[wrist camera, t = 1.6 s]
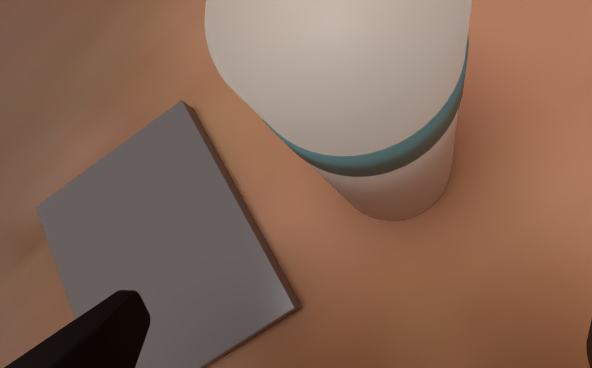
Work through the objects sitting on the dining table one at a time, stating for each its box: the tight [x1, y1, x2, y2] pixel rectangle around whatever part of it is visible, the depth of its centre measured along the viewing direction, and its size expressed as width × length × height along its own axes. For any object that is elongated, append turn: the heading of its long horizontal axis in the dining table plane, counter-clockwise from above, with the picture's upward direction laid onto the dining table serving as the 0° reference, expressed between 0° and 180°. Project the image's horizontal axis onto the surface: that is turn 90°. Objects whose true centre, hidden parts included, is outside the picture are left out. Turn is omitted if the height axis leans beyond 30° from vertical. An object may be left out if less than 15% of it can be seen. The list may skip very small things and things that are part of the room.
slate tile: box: [36, 100, 302, 368], centre depth 24 cm, size 13×11×1 cm
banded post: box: [205, 0, 472, 221], centre depth 16 cm, size 6×6×14 cm
